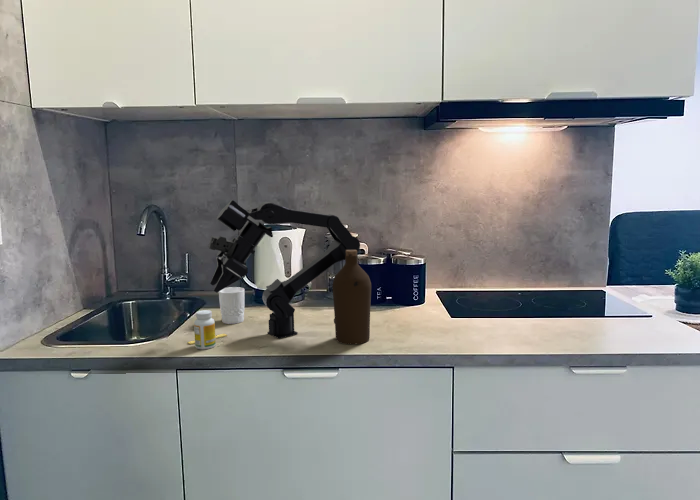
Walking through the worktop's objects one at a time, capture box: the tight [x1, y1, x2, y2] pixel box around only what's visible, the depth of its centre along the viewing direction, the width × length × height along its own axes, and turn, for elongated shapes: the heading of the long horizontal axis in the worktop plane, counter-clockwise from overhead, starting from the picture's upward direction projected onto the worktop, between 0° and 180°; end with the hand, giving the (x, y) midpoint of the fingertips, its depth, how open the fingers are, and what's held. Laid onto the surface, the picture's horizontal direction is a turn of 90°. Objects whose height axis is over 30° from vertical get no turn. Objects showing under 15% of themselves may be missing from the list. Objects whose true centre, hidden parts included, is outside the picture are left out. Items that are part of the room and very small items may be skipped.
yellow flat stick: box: [187, 333, 228, 346], centre depth 149 cm, size 11×2×1 cm, turn 130°
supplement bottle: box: [193, 309, 216, 350], centre depth 143 cm, size 5×5×10 cm
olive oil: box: [332, 250, 372, 346], centre depth 145 cm, size 11×11×25 cm
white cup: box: [218, 286, 245, 325], centre depth 166 cm, size 8×8×10 cm
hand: (213, 287), depth 144 cm, fingers open, 9 cm apart
